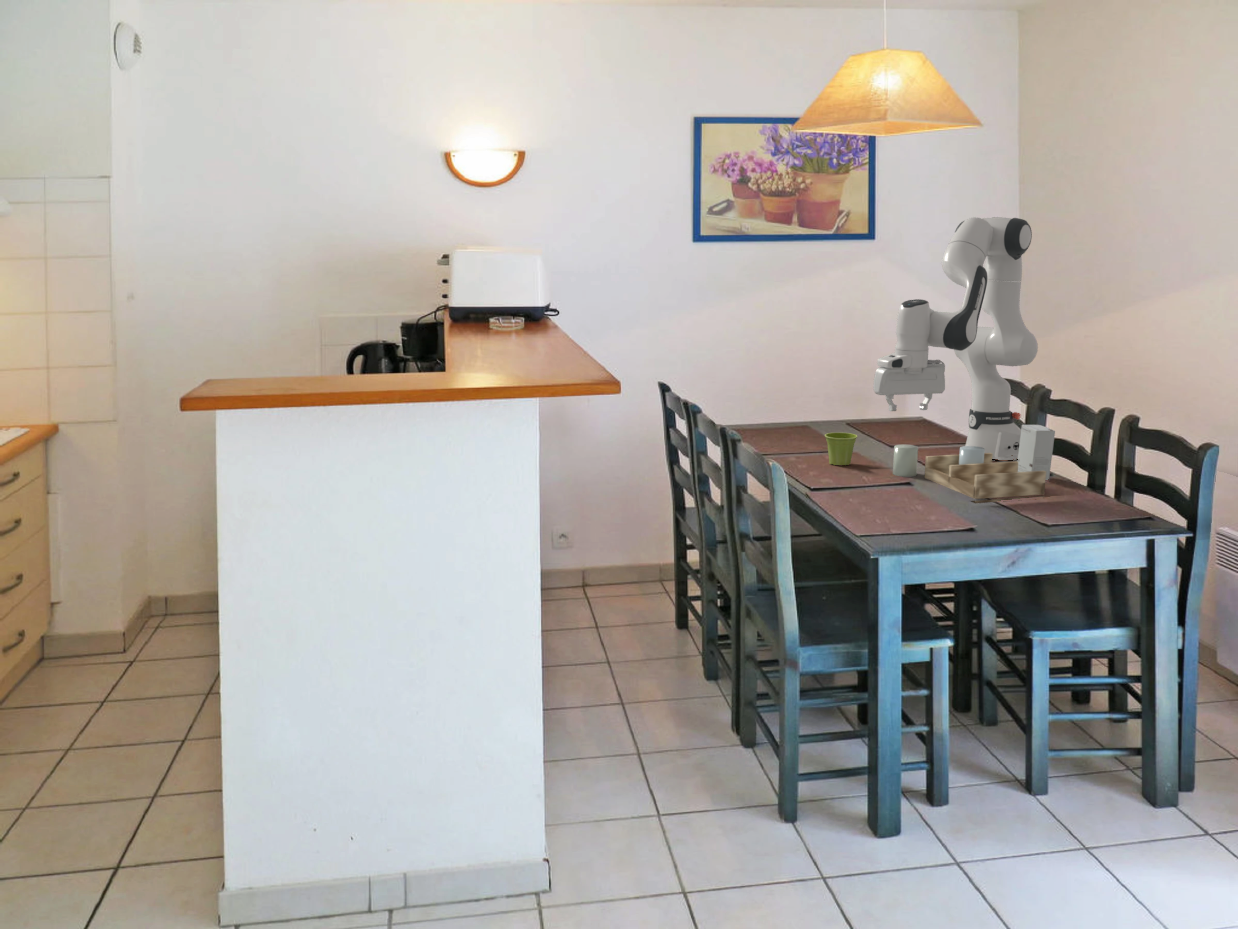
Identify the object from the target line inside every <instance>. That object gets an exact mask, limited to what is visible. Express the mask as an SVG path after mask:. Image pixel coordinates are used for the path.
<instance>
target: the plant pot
mask: <svg viewBox="0 0 1238 929" xmlns="http://www.w3.org/2000/svg"><path fill="white" fill-rule="evenodd" d="M824 437H825V440H826V443H827V444H826V445H827V451H828V452H827V453H828V464H829V465H833V466H835V465H845V466H849V464H850V465H851V464H852V463H851V462H852V456H853V450H854V446H855V443H856V440H857V439H858V435H857V434H854V433H850V432H829V433H826V434H824Z"/></svg>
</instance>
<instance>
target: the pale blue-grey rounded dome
mask: <svg viewBox="0 0 1238 929" xmlns="http://www.w3.org/2000/svg"><path fill="white" fill-rule="evenodd" d="M984 453H985V449H984V448H982V447H977V446H965V445H963V446H960V447H959V454H958V455H959V465H961V464H979V463H984Z"/></svg>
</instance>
